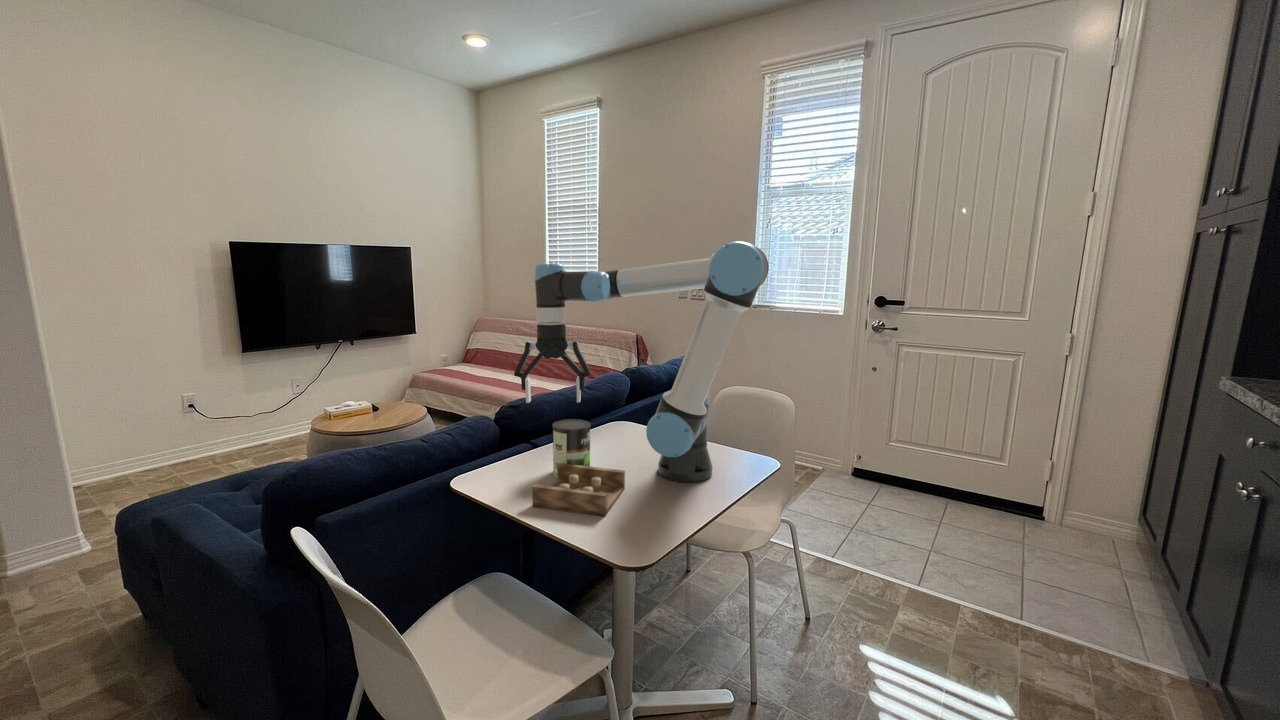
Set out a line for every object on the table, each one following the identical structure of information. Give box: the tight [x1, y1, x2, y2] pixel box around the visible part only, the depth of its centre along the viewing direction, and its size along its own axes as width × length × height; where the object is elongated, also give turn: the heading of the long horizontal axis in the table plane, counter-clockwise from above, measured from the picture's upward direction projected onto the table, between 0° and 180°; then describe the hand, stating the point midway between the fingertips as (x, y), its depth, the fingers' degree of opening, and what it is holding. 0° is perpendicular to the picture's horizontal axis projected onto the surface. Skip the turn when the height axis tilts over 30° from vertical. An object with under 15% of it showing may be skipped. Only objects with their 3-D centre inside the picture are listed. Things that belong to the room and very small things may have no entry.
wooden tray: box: [531, 463, 626, 518], centre depth 128 cm, size 18×16×5 cm
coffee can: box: [551, 418, 591, 478], centre depth 142 cm, size 10×10×14 cm
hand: (553, 401), depth 140 cm, fingers open, 13 cm apart
